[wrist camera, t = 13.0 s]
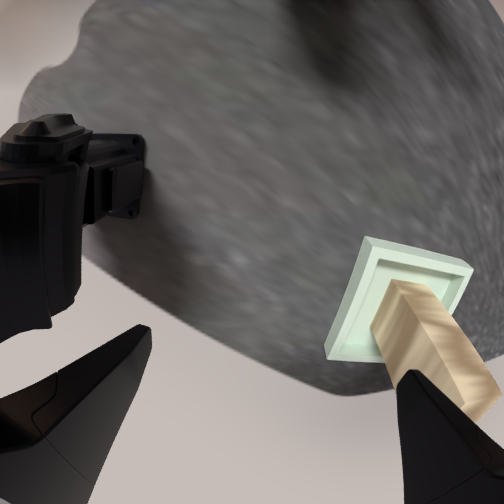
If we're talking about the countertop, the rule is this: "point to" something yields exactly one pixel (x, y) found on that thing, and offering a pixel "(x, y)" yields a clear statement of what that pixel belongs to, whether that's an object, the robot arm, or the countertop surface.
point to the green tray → (375, 285)
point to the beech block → (431, 347)
